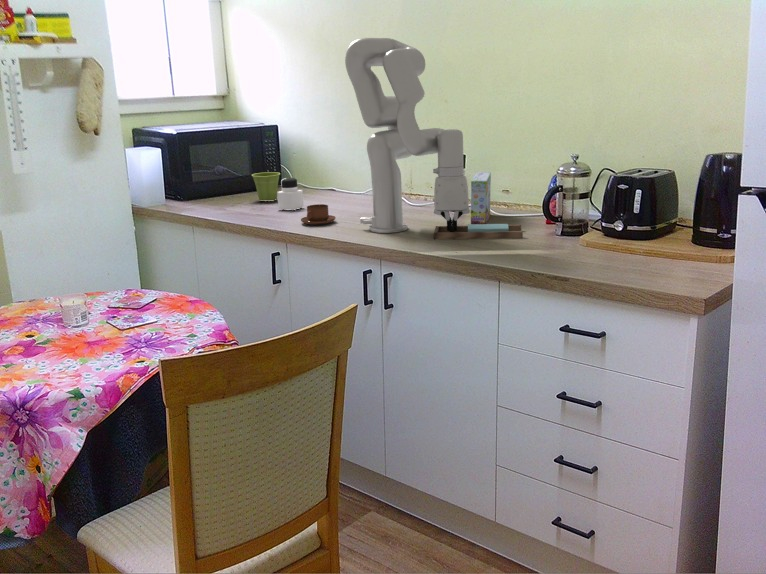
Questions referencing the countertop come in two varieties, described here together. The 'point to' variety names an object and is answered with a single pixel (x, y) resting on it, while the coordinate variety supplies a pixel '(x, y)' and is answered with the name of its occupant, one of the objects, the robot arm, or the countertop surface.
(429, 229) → the countertop surface
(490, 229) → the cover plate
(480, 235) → the walnut box
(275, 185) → the plant pot
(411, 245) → the countertop surface
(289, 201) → the medicine bottle
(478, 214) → the snack box
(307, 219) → the cup and saucer
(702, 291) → the countertop surface
